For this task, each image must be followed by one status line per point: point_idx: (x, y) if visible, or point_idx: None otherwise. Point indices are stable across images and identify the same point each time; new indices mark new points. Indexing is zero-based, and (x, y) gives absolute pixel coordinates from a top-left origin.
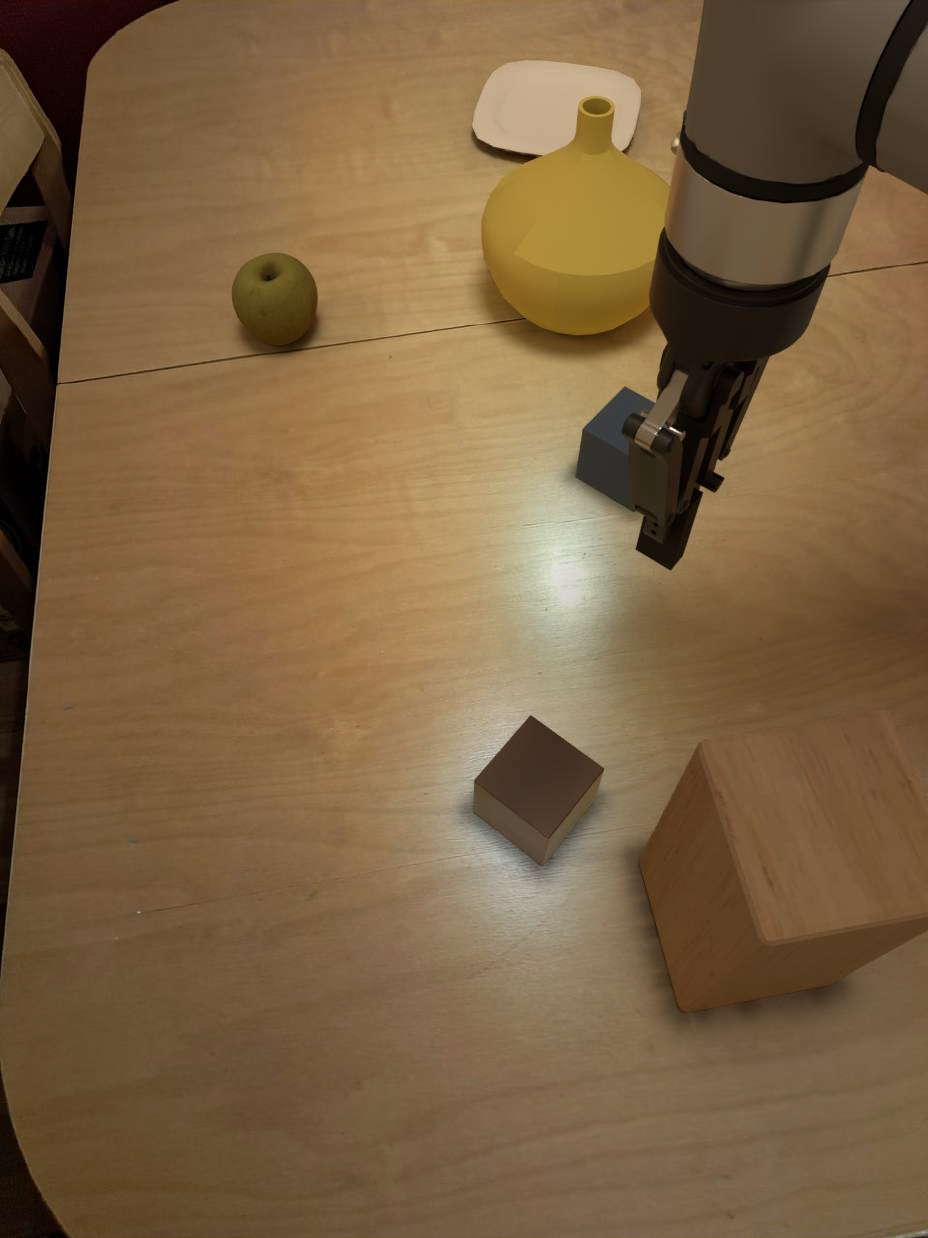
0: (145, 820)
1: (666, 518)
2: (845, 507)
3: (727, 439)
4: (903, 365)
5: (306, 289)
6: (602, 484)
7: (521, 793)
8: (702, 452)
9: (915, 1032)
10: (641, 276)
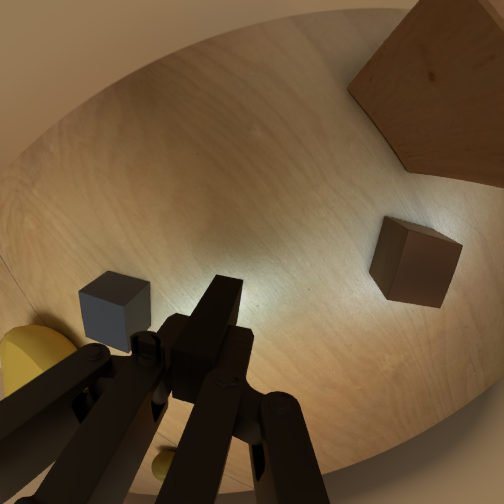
0: (442, 395)
1: (300, 422)
2: (76, 155)
3: (81, 382)
4: (4, 179)
5: (162, 468)
6: (146, 311)
7: (442, 277)
8: (175, 499)
9: (403, 9)
10: (33, 353)
